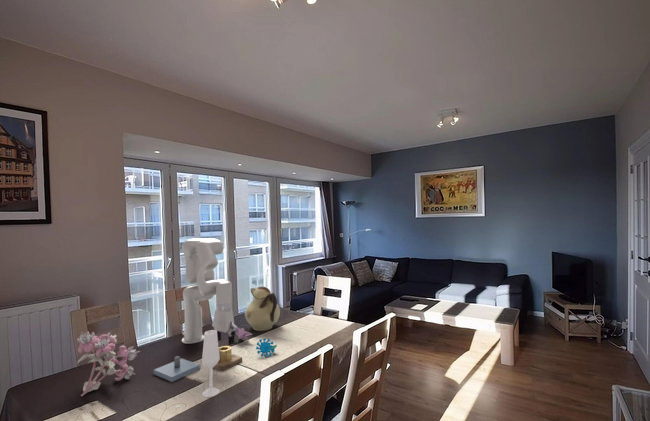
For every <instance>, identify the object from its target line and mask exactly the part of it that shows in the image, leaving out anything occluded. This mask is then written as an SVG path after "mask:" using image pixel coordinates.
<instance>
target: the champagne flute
mask: <svg viewBox="0 0 650 421" xmlns="http://www.w3.org/2000/svg"><path fill="white" fill-rule="evenodd" d="M203 335H204V340H203V346H202V354H201V355H202V356H201V357H202V358H201V362H202V365H204V366H205V368H207V369H208V370H209V374H208V375H209V376H208V377H209V380H208V381H209V382H208V384H209V385H208V386H209V387H208V388H206V390H204V391H202V394H201V395H202V397H203V398H210V397H215V396H217V395H218V394H219V393H220V391H221V390H220V389H219V388H217V387H214V386H213V369H214V368H213V367H214V366H215V365H216V364H217V363H218V361H219V359H220V357H219V347H220V346H219V341H218V337H217V331H216V330H213V329H211V330H207V331H205V332H204V334H203Z"/></svg>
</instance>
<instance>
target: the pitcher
mask: <svg viewBox="0 0 650 421" xmlns="http://www.w3.org/2000/svg"><path fill="white" fill-rule="evenodd" d="M250 293H251V295H252V296H253V299H252V300H251V302H250V303H249V304H248V305H247V307H246V309H245V311H244V318H245V320H246V321H247V323H248V324H249V325H250V326H251V327H252V329H253V331H257V332H259V331H260V332H262V331H264V332H265V331H269V330H271V329H272V328H273V326H274V325H275V324H276V323H277V321H278V320H279V318H280V317H281V316H280V315H281V308H280V306H279V305H278V299H277V295H276V294H275V293H274V292H272V291H271V290H270V289H269V288H268V287H266V286H258V287H255V288H252V287H251V288H250Z"/></svg>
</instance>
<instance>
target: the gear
mask: <svg viewBox="0 0 650 421" xmlns="http://www.w3.org/2000/svg"><path fill="white" fill-rule="evenodd" d="M262 341H263V342H262ZM277 346H278V345H277V344H275V345H274V341H271V339H270V338H268V339H267V338H266V337H263V339H262V338H260V339H259V340H258V341H257V343H256V347H255V350H257V354H258V355H259V354H260V357H265V358H268V356H269V357H271V356H272V355H273V354H274V353H275V349H276V348H277ZM268 354H269V355H268Z"/></svg>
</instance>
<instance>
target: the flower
mask: <svg viewBox="0 0 650 421" xmlns="http://www.w3.org/2000/svg"><path fill="white" fill-rule="evenodd" d="M77 342H78V343H79V345H78V348H77V351H78V353H80V354H82V353H83V352H85V353H86V354H83V355H82V356H81V357H80V358H79V359H78V360H77V364H79V363H80V362H82V361H84V360H85V359H87V358H88V359H90V360H88V362H87V364H90V363H93V366H92V369H91V372H90V377H89V379H88V381H85V382H84V384H83V387H82V394H80V396H81V397H83V396H84V395H86V394H87V393H89V392H92V391H96V390H99V388H100V386H101V384H102V383H101V382H100V381H102V380H103V379H104V378H105V377H107V376H111V375H114V374H115V375H116V376H117V377H114V380H115V381H121V380H122V379H123V378H124V379H125V380H130V378H131V376H133V375H136V373H134V371H135V368H133V366H130V365H128V364H127V361H133V360H135V358H136V357H138V355H137V353H140V352H141V350H139V351H138V350H137V349H136V348H134V347H135V346H133V345H132V346H129V347H128V348H127V346H125V345H120V346H119V347H118V349H119V350H118V351H117V352H115V351H114V350H115V349H116V344H117V342H118V339H117V334H114V335H112V334H111V332H108V333H106V334H101V335H99V336H97V335H95V332H93V331H92V332H91V334H90V332H89V330H87V332H84V333H83V331H81V334H79V337H78V338H77ZM95 349H96V351H95ZM90 352H92V353H91V354H90ZM88 353H89V354H88ZM101 357H103V359H104V360H103V359H102V358H101ZM117 358H122V359H121V360H119V359H117ZM97 362H98V363H99V364H100V366H97V367H96V365H97ZM116 365H118V366H120V368H119V369H115V366H116ZM105 367H107V368H108V369H106V368H105ZM121 368H122V369H121ZM96 371H99V372H98V373H97V374H96V376H94V373H95V372H96ZM101 373H102V374H103V376H101V377H100V378H99V376H100V375H101ZM93 376H94V378H93ZM98 378H99V379H98ZM97 379H98V380H97Z"/></svg>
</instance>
